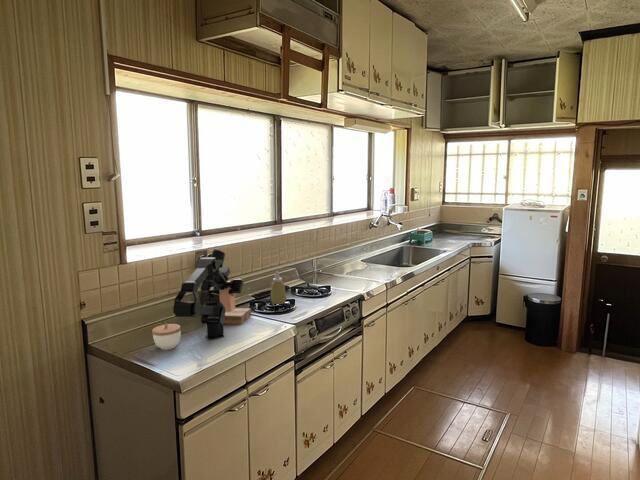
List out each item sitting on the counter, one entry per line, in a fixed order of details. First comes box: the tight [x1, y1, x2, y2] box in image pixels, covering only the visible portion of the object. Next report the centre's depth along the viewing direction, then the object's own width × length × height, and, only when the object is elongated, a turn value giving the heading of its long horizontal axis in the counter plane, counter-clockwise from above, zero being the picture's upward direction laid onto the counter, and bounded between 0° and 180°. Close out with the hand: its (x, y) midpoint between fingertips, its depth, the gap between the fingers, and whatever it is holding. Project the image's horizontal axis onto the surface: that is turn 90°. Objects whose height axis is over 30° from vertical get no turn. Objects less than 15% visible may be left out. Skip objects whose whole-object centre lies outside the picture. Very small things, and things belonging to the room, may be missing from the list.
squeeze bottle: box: [270, 271, 287, 305], centre depth 223 cm, size 8×8×18 cm
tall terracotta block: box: [218, 280, 236, 312], centre depth 197 cm, size 5×5×13 cm
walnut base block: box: [216, 307, 252, 325], centre depth 205 cm, size 12×12×4 cm
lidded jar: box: [151, 323, 182, 351], centre depth 174 cm, size 11×11×9 cm
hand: (228, 294), depth 198 cm, fingers closed on tall terracotta block, 5 cm apart
